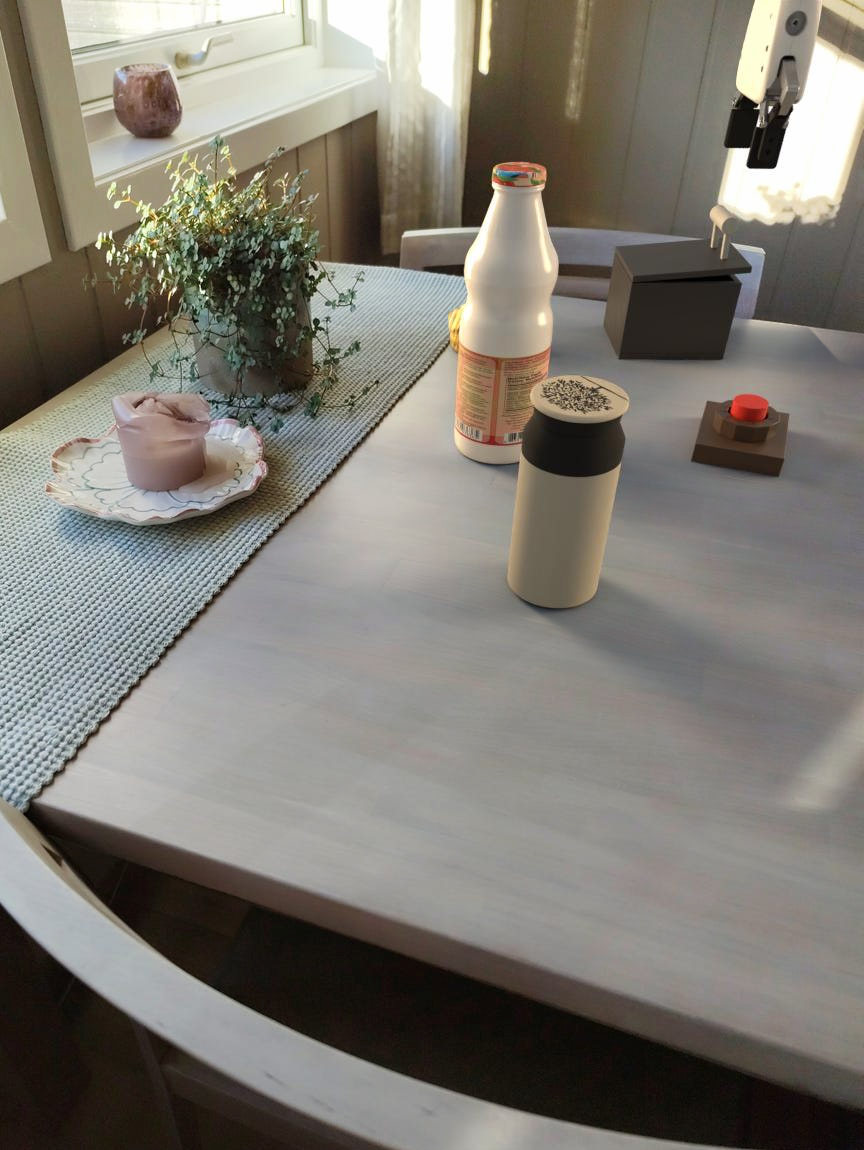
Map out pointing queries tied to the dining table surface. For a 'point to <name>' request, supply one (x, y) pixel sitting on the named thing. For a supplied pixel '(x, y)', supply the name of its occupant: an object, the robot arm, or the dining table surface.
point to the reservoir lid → (687, 255)
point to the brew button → (749, 408)
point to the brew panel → (741, 440)
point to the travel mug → (566, 489)
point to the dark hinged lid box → (670, 316)
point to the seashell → (455, 327)
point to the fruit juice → (505, 317)
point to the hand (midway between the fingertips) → (748, 157)
